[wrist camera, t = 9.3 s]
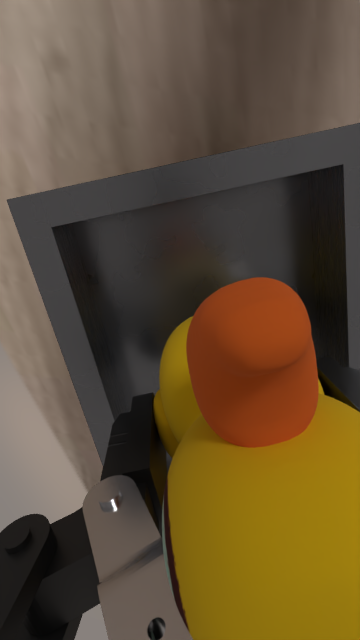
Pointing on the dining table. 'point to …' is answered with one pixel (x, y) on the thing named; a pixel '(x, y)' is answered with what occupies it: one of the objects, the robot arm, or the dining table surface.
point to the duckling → (257, 474)
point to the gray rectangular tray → (193, 256)
